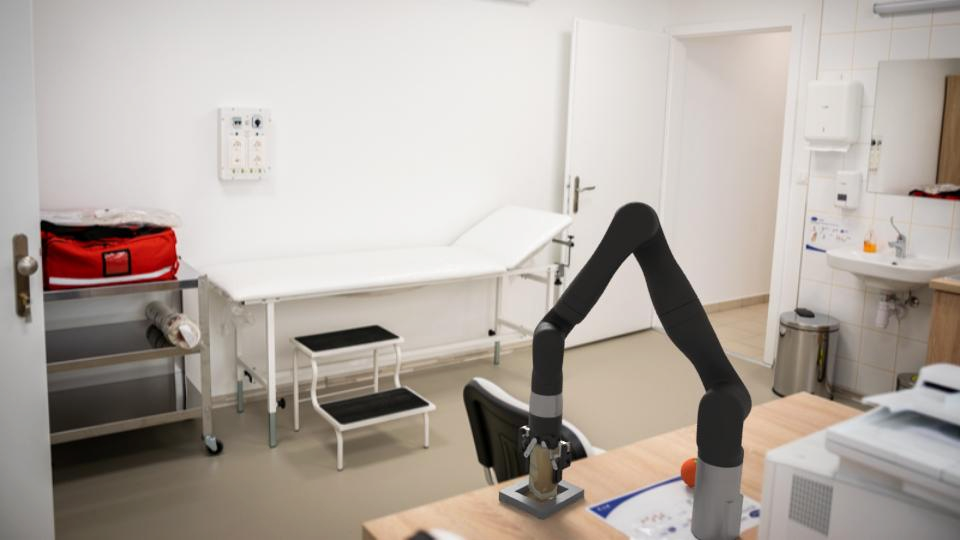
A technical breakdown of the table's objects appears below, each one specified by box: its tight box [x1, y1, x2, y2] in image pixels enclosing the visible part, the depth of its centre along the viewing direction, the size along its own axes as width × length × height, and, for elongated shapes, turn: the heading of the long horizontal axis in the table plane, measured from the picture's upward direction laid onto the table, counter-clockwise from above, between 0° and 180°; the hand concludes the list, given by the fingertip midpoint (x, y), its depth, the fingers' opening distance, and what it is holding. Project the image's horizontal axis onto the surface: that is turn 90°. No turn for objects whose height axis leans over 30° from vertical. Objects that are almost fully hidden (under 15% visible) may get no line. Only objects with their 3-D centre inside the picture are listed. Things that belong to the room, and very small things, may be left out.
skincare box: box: [528, 444, 560, 501], centre depth 181 cm, size 6×4×12 cm
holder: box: [498, 476, 585, 521], centre depth 182 cm, size 13×15×2 cm
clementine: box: [679, 457, 697, 489], centre depth 189 cm, size 8×7×7 cm
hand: (543, 477), depth 181 cm, fingers closed on skincare box, 7 cm apart
